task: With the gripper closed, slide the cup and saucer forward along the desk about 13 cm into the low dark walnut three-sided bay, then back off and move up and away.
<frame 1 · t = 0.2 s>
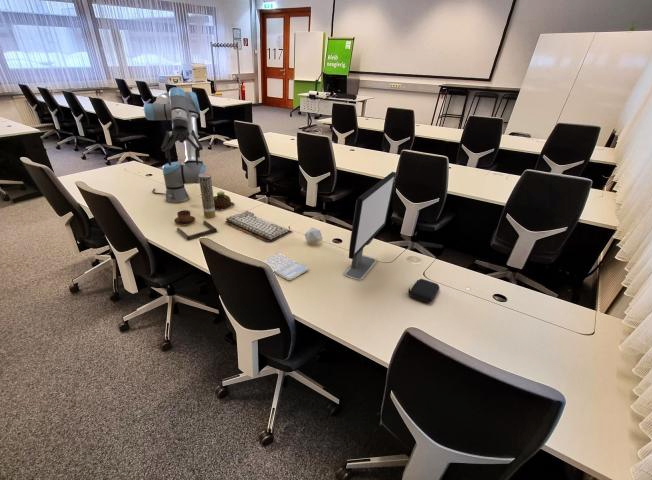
hand: (183, 164, 167), 35 cm above the table, tool tilted 35°, fingers open, 13 cm apart
die: (313, 243, 176), on the table
calculator: (283, 268, 156), on the table
bay: (196, 231, 185), on the table
computer monitor: (361, 267, 158), on the table
carrying case: (422, 293, 142), on the table
dark brown mound: (221, 206, 215), on the table
cup and saucer: (185, 223, 193), on the table
bark textured cylinder: (209, 216, 202), on the table
mechanical keyboard: (256, 227, 190), on the table
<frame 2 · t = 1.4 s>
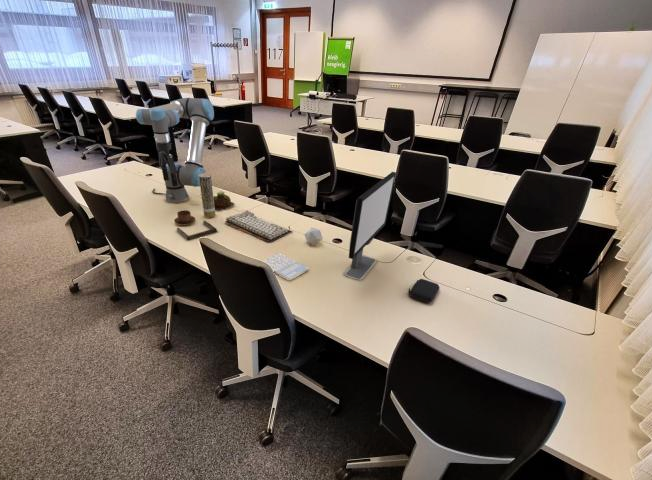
hand: (170, 182, 189), 20 cm above the table, tool pointing down, fingers open, 11 cm apart
nothing on the table moved.
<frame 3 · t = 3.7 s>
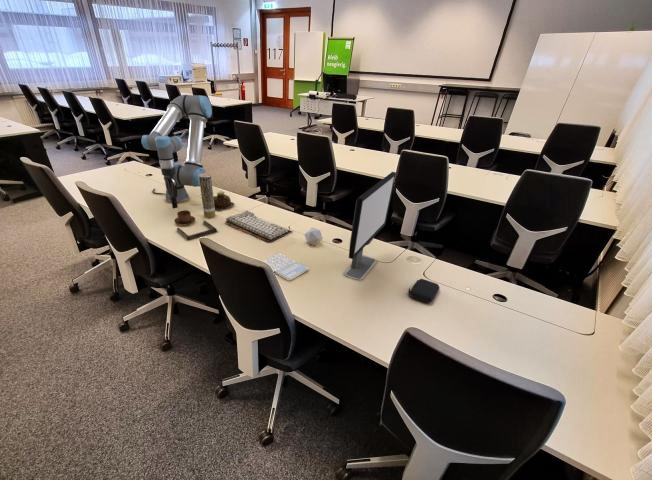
hand: (175, 207, 197), 5 cm above the table, tool pointing down, fingers closed
nothing on the table moved.
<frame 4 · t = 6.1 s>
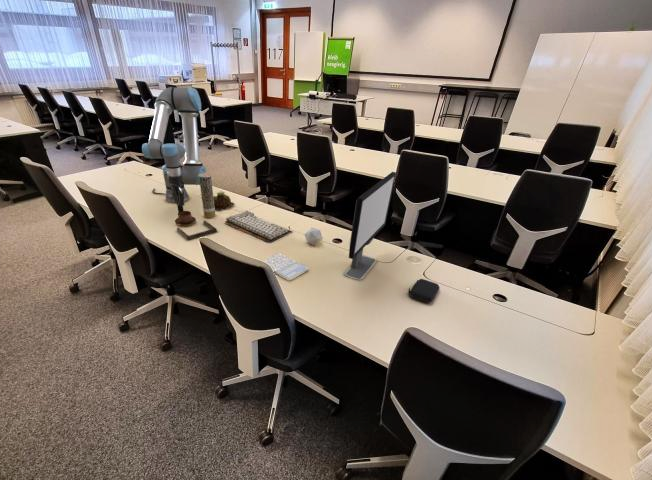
hand: (181, 216, 193), 3 cm above the table, tool pointing down, fingers closed
cup and saucer: (186, 223, 193), on the table, touching gripper
everything else where it was.
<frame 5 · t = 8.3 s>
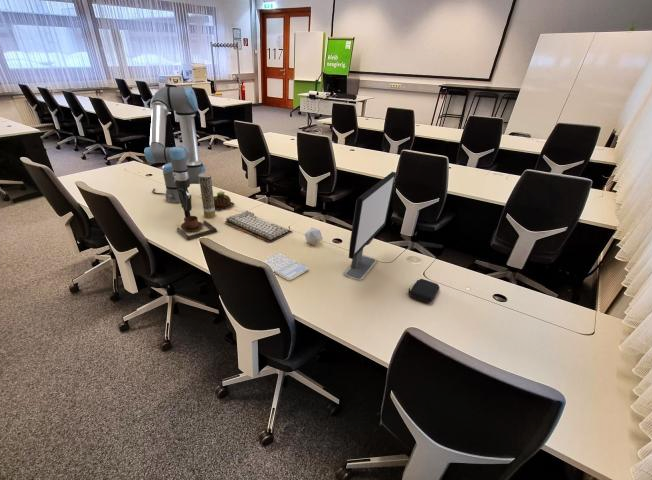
hand: (188, 221, 188), 3 cm above the table, tool pointing down, fingers closed
cup and saucer: (192, 228, 187), on the table, touching gripper
everything else where it was.
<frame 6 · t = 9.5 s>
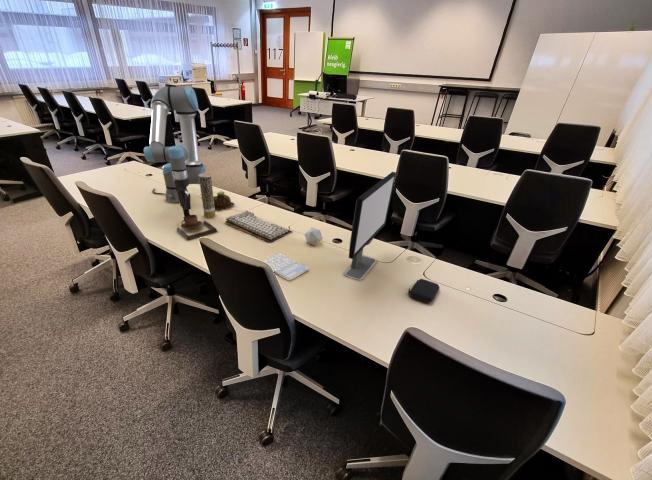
hand: (187, 220, 189), 3 cm above the table, tool pointing down, fingers closed
cup and saucer: (192, 227, 186), point 1 cm above the table, touching gripper
everything else where it was.
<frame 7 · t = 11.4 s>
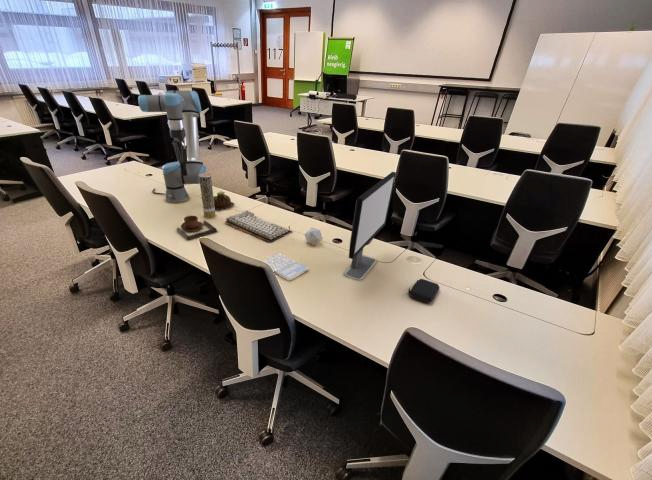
hand: (184, 175, 183), 26 cm above the table, tool pointing down, fingers closed
cup and saucer: (192, 228, 187), on the table
everything else where it was.
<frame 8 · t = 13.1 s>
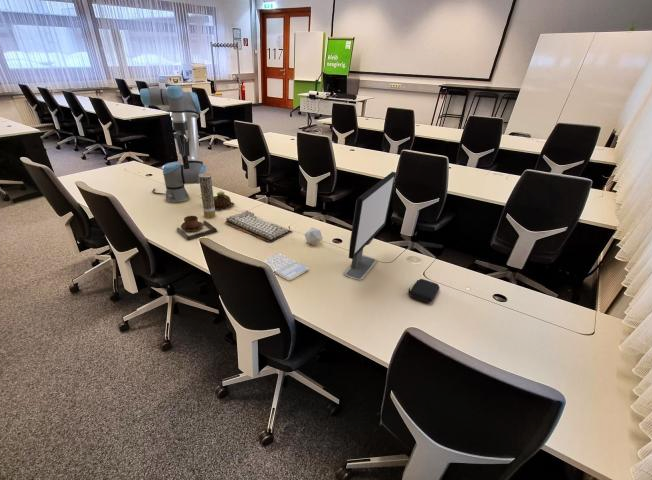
hand: (186, 168, 183), 28 cm above the table, tool pointing down, fingers closed
nothing on the table moved.
at the end: cup and saucer 2.5 cm from the target spot on the bay, point 0.0 cm above the bay's base; cup and saucer moved 9.5 cm from its start; cup and saucer tilted 0° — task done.
